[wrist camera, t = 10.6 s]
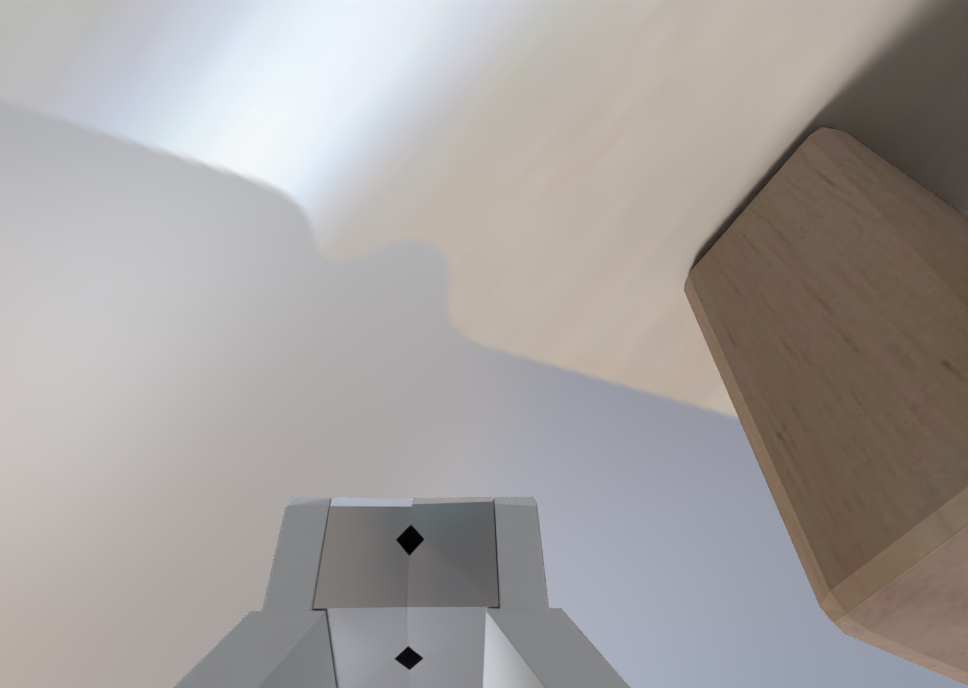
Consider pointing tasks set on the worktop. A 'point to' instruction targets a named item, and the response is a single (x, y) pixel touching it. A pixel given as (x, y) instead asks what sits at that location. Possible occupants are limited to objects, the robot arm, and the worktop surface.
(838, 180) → the block
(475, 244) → the worktop surface
